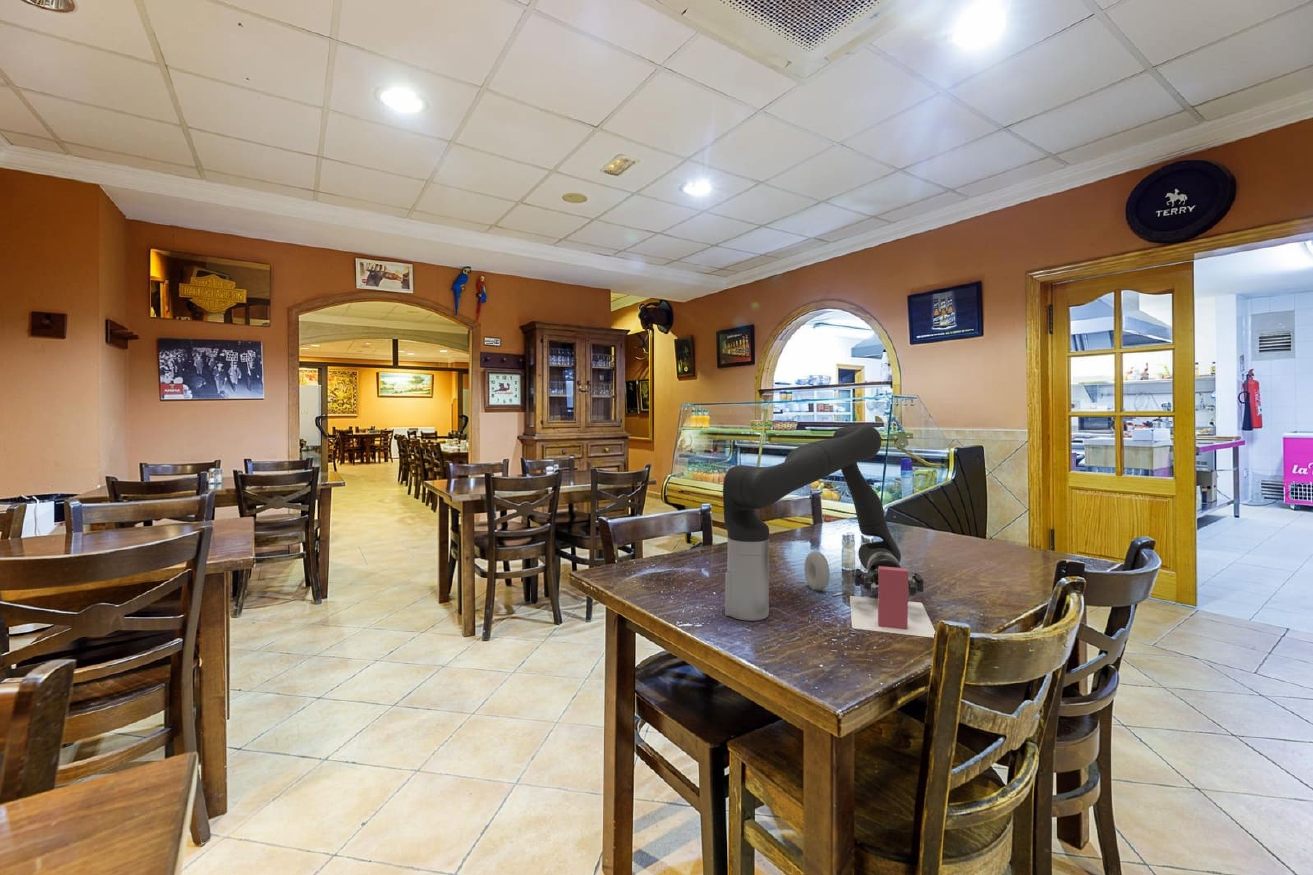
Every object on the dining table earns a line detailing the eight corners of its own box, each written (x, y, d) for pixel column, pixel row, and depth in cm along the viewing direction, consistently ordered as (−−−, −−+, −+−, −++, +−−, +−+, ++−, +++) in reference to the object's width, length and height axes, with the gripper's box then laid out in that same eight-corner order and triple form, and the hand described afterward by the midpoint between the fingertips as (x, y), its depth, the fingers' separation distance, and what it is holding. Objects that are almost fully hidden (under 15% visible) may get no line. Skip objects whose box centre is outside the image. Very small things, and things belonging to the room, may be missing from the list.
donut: (832, 596, 134) (832, 556, 134) (818, 596, 134) (819, 556, 134) (814, 584, 144) (814, 547, 144) (801, 584, 144) (802, 547, 143)
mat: (852, 630, 112) (852, 628, 112) (849, 598, 133) (849, 595, 133) (938, 640, 107) (938, 637, 107) (921, 605, 128) (921, 602, 128)
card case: (878, 626, 113) (879, 569, 112) (877, 622, 115) (878, 566, 115) (907, 629, 111) (908, 571, 111) (905, 625, 113) (906, 568, 113)
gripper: (853, 552, 134) (855, 568, 119) (916, 557, 130) (927, 574, 114) (853, 582, 134) (855, 602, 119) (916, 588, 130) (927, 610, 114)
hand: (890, 589), depth 117 cm, fingers open, 8 cm apart
